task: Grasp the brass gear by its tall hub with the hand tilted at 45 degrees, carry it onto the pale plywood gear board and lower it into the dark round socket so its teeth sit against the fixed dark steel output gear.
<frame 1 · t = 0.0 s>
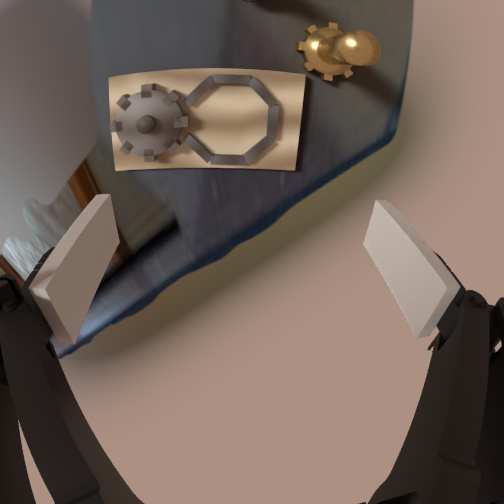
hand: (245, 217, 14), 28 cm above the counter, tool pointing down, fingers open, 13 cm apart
gear board: (203, 117, 36), on the counter
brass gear: (326, 51, 31), on the counter
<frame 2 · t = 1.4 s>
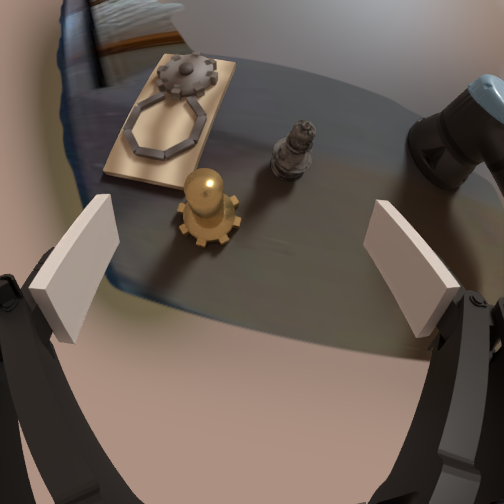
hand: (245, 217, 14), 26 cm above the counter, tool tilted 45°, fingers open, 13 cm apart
gear board: (173, 113, 42), on the counter
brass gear: (209, 218, 40), on the counter
stone chess piece: (287, 166, 42), on the counter
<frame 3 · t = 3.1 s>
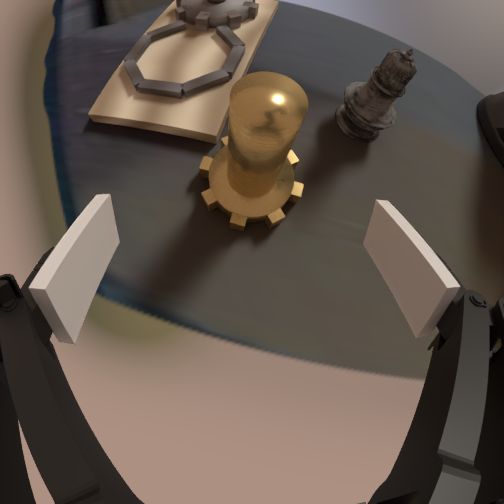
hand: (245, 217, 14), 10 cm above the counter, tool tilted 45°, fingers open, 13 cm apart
gear board: (196, 47, 27), on the counter
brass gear: (250, 183, 25), on the counter
stone chess piece: (357, 122, 27), on the counter
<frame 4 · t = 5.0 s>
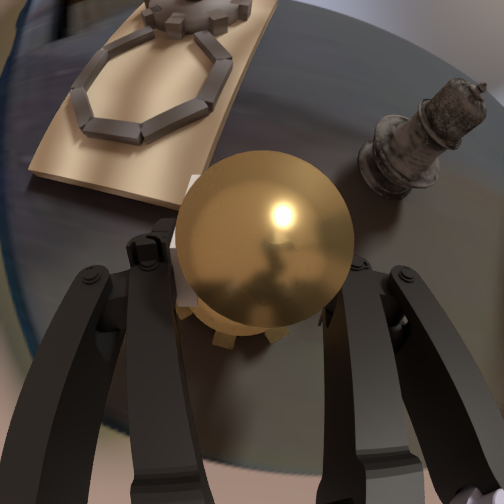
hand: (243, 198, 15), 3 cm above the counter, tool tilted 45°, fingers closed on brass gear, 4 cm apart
gear board: (168, 61, 20), on the counter
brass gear: (240, 275, 18), on the counter, touching gripper
stone chess piece: (385, 169, 21), on the counter
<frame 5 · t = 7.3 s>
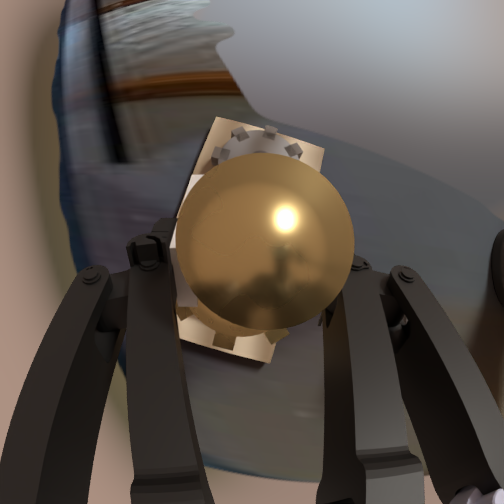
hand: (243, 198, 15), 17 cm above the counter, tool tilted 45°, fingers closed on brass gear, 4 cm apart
gear board: (239, 231, 32), on the counter
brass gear: (240, 276, 18), point 14 cm above the counter, touching gripper
when the fingers open (6 cm above the counter, at t = 9.4 s): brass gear drops 1 cm, resting on gear board.
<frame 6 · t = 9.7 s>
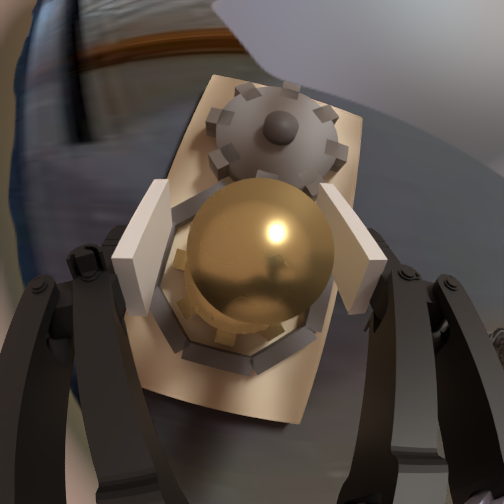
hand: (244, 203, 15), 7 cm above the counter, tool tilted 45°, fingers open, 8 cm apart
gear board: (250, 233, 21), on the counter
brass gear: (240, 278, 19), point 1 cm above the counter, touching gear board
stone chess piece: (440, 343, 22), on the counter
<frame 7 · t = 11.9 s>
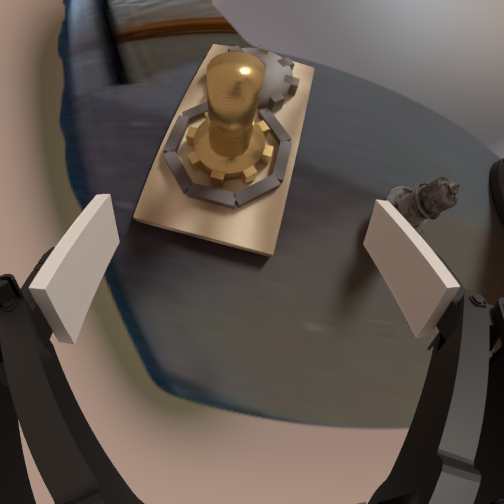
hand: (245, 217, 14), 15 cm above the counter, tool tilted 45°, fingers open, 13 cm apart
gear board: (236, 130, 30), on the counter
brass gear: (228, 149, 28), point 2 cm above the counter, touching gear board
stone chess piece: (390, 220, 31), on the counter
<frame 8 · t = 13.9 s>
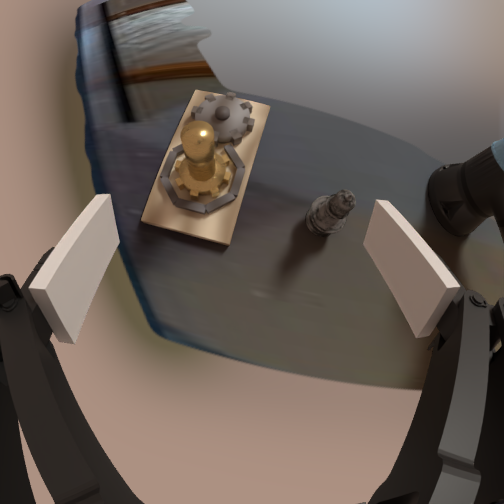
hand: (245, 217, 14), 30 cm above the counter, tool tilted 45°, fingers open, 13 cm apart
gear board: (209, 159, 45), on the counter
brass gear: (203, 174, 43), point 2 cm above the counter, touching gear board
stone chess piece: (321, 220, 46), on the counter
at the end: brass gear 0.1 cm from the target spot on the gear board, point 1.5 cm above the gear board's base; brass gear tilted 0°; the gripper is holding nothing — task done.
